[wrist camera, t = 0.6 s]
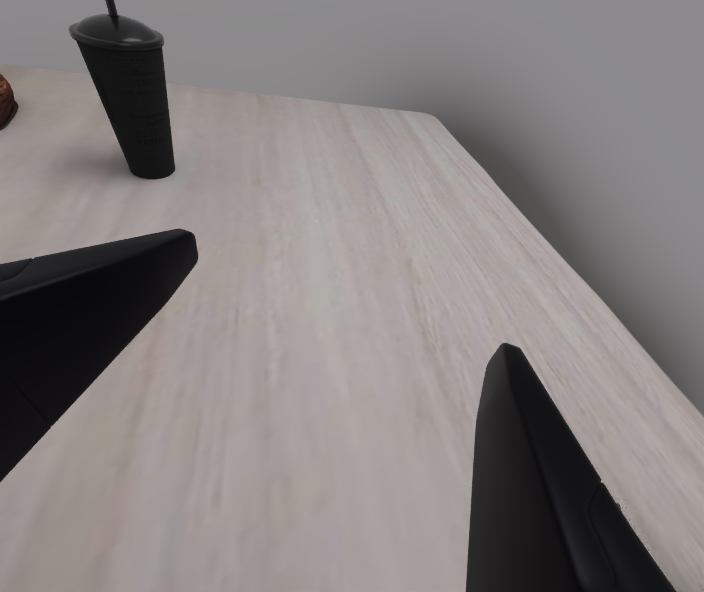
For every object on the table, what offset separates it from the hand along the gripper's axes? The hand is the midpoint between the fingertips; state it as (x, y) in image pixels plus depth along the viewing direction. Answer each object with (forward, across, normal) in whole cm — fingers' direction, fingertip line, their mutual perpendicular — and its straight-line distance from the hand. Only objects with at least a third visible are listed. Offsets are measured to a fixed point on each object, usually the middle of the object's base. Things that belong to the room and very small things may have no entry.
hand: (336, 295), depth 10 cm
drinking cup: (+26, +32, +14) cm, 43 cm away
